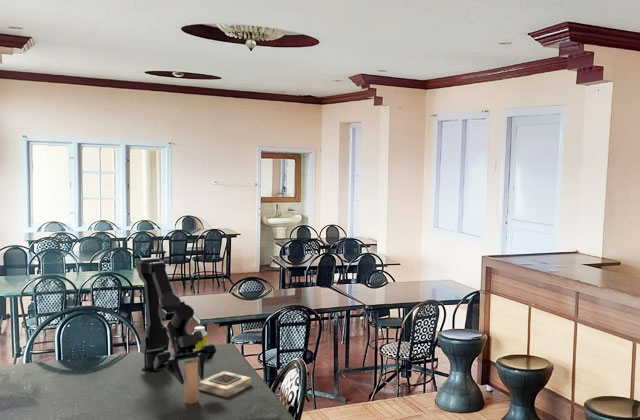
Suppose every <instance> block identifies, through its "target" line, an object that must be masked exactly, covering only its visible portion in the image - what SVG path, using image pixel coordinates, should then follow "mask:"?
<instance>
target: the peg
mask: <svg viewBox="0 0 640 420" xmlns="http://www.w3.org/2000/svg"><path fill="white" fill-rule="evenodd" d="M183 365H184V366H183V370H184V373H183V374H184V375H183V380H184V384H183V385H184V403H185V404H187V405H190V404H191V405H192V404H196V403H198V402H199V373H198V362H197V360H187V361H185V362H184V363H183Z"/></svg>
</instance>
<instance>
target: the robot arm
mask: <svg viewBox="0 0 640 420" xmlns="http://www.w3.org/2000/svg"><path fill="white" fill-rule="evenodd" d="M135 264H136V265H135V267H136V268H135V269H136V272H137V273H138V278H139V279H140V281H142V283H143V287H144V299H145V309H146V323H147V325H146V327H145V329H144V331H143V337H142V339H141V342H140V345H139V350H140V353H141V354H143V358H144V359H143V360H144V362H143V363H144V366H143V367H142V368H141V370H143V371H148V372H154V373H157V372H159V371H162V370H163V369H164V371H165V372H168V373H170V374H171V375H172V376H173V377H174V378H175V379H176V380H177V381H178V382H179V383H180V384H181V385H184V375H183V374H182V371H181V369H180V366H179V362H180V361H185V360H189V359H193V358H195V361H197V362H198V377H199V379H200V381H202V380H204V373H205V371H204V370H205V363H206V361H210V360H212V359H213V358H214V356H215V354H216V353H217V348H216V345H214V344H213V343H209V344H207V345H203V346H202V347H201V349H200V350H199V351H193V349H195V348H196V346H195V345H196V344H198V342H201V341H202V340H203V336H202V333H201V331H196V332H194V331H193V332H194V334H193V333H192V334H190V333H188V329H187V328H188V327H189V325H190V324H191V321H192V319H193V317H194V314H195V311H194V308H193V307H192V306H191V305H188V304H186V303H185V301H181V299H180V297H179V296H177V295H176V294H175V293H174V291H173V288H172V286H171V282H170V279H169V277H168V274H167V271H166V268H167V267H166V263H165V260H162V259H160V258H158V257H157V256H156V257H146V258H145V257H143V258H142V257H141V258H139V260H138V261H137V262H136V263H135ZM162 321H163V322H168V323H167V324H166V326H164V325H163V323H162ZM170 343H171V344H170ZM169 345H170V348H171V349H172V350H173V354H171V351H170V352H169Z"/></svg>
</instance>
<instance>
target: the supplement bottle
mask: <svg viewBox="0 0 640 420" xmlns="http://www.w3.org/2000/svg"><path fill="white" fill-rule="evenodd" d="M193 330H194V331H193V332H192V334H194V332H196V331H201V333H202V336H203V340H202V341H201V342H198V344H196V345H195V346H196V348H195V349H193V351H199V350H200V349H201V347H202V346H203V345H208V332H207V331H206V327H205V326H203V325H202V326H201V325H199V326H198V325H197V326H195V327H194V329H193Z"/></svg>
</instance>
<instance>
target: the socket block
mask: <svg viewBox="0 0 640 420" xmlns="http://www.w3.org/2000/svg"><path fill="white" fill-rule="evenodd" d="M251 386H252V377H249V376H245V375H243V374H237V373H233V372H229V371H226V370H223V371H219V372H218V373H215V374H213V375H211V376H208V377H206V378H205V379H204V378H203V380H199V381H198V391H203V392H205V393H206V392H207V393H210V394H213V395H217V396H222V397H224V398H229V397H231V396H233V395H236V394H237V393H239V392H241V391H242V390H244V389H247V388H249V387H251Z"/></svg>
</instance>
